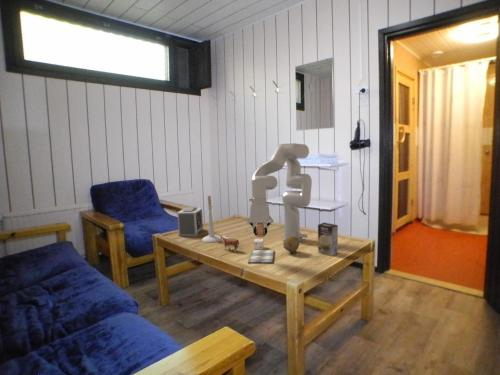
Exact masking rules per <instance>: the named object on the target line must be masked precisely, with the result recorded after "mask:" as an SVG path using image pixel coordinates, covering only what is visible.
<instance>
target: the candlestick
mask: <svg viewBox="0 0 500 375" xmlns="http://www.w3.org/2000/svg"><path fill="white" fill-rule="evenodd" d="M212 208H213V205H212V195H207V209H208V235H206V236H204V237H203V238H202V239H201V241H202V242H203V243H207V244H211V243H218V242H220V241H222V238H221V237H222V236H220V235H216V234H215V230H214V229H215V228H214V221H213V213H212Z"/></svg>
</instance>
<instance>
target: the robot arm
mask: <svg viewBox="0 0 500 375" xmlns="http://www.w3.org/2000/svg"><path fill="white" fill-rule="evenodd" d="M309 153H310V150H309V147H308V145H306V144H303V143H296V142H295V143H281V144H279V145H277V147H276V149H275V150H274V152H273V154H272V155H271V157H270V159H269V160H267V162H264V163H263V164H262V165H260V167H258V168H257V169H256V171H255V172H254V173H253V175H252V178H251V198H249V201H248V202H251V203H250V208H249V217H248V219H247V220H246V223H247V224H249V225H250V226H251V227H252V228H253V231H252V232H253V234H254V236H256V234H257V223H263V224H264V235H265V236H266V235H267V234H268V228H269V226H270V225H272V224H273V223H274V219H273V218H272V216H271V215H270V208H269V203H268V202H267V191H270V190H275V188H277V186H278V179H277V177H275V176H274V175H271V174H274V173H276V172H279V171H282V169H283V168H284V167H285V164H286V166H287V167H286V168H287V169H286V180H285V183H286V184H285V185H286V188H288V189H295V190H286V191H284V192H283V193H282V196H281V197H282V198H281V199H282V200H281V201H282V204H283V211H284V212H283V214H284V217H283V218H284V236H282V241H283V242H284V239H285V238H286V237H288V236H290V235H293V236H296V237H297V238H298V239H299V243H300V242H302V241H303V238H308V234H306V233H301V230H300V229H301V226H300V224H301V223H300V220H301V219H300V216H301V215H300V210H299V209H298V207H299V208H300V207H301V208H305V207H306V208H307V207H308V206H309V205H310V203H311V199H312V198H311V197H312V177H311V175H310V174H308V173H302V172H301V171H302V166H301V163H300V161H299V160H298V159H300V160H301V159H302V160H303V159H306V158H307V157H308V156H309ZM298 189H299V190H298Z"/></svg>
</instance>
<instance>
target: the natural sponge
mask: <svg viewBox="0 0 500 375" xmlns="http://www.w3.org/2000/svg"><path fill="white" fill-rule="evenodd" d="M282 244H283V249H285V250H286V251H287V252H289V253H291V254H293V253H295V252H297V250H298V249H299V247H300V242H299V239H298V238H297V237H296V236H293V235H290V236H288V237H286V238H285V239H284V241H283V242H282Z"/></svg>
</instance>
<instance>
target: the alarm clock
mask: <svg viewBox="0 0 500 375" xmlns="http://www.w3.org/2000/svg"><path fill="white" fill-rule="evenodd" d="M176 216H177V227H178V229H177V230H178V237H197V236H198V235H199V232H202V231H204V222H203V221H204V220H203V218H204V217H203V208H201V207H200V208H199V207H184V208H183V209H181V210H179V211H178V212H177V215H176Z"/></svg>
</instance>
